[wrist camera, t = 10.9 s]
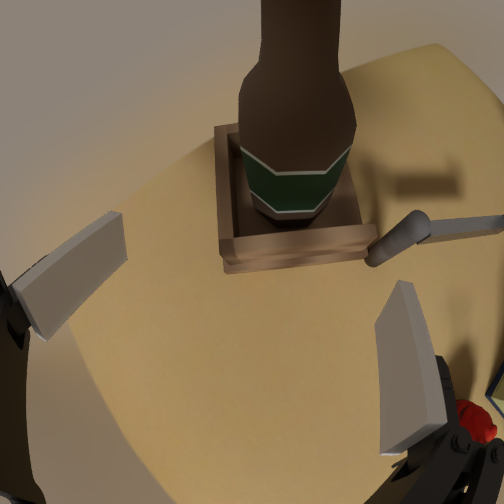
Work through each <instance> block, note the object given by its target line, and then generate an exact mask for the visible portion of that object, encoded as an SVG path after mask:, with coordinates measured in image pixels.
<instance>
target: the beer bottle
mask: <svg viewBox="0 0 504 504" xmlns="http://www.w3.org/2000/svg"><path fill="white" fill-rule="evenodd" d="M340 12H341V0H261V36H262V37H261V39H262V41H261V48H260V55H259V62H258V63H257V64H256V65H255V66H254V68H253V69H252V70H251V71H250V72H249V73H248V75H247V76H246V77H245V78H244V80H243V83H242V86H241V89H240V92H239V119H238V128H239V139H240V148H241V152H242V157H243V161H244V166H245V170H246V175H247V180H248V184H249V189H250V194H251V198H252V203H253V206H254V208H255V210H256V211H257V212H258V213H260V214H261V215H262V216H263V217H264V218H266V219H267V220H268V221H269V222H270V223H271V224H273V225H274V226H275V227H276V228H277V229H278V228H300V227H308V226H309V225H310V224H311V223H312V222H313V221H314V220H315V219H316V218H317V216H318V215H319V214H320V213H321V212H322V211H323V210H324V209H325V208H326V206H327V205H328V203H329V201H330V199H331V197H332V194H333V192H334V190H335V187H336V185H337V182H338V180H339V177H340V175H341V172H342V170H343V167H344V164H345V162H346V159H347V157H348V154H349V151H350V149H351V146H352V143H353V139H354V135H355V131H356V126H357V124H356V119H355V113H354V108H353V104H352V101H351V98H350V95H349V92H348V90H347V87H346V84H345V82H344V79H343V77H342V76H341V74H340V72H339V65H338V46H339V32H340V14H341V13H340Z"/></svg>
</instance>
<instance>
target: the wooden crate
mask: <svg viewBox="0 0 504 504" xmlns="http://www.w3.org/2000/svg"><path fill="white" fill-rule="evenodd" d="M214 135H215V171H216V196H217V218H218V237H219V254H220V255H221V257H222V258H223V266H224V272H225V273H226V274H235V273H245V272H254V271H264V270H273V269H282V268H291V267H300V266H309V265H318V264H326V263H334V262H343V261H351V260H359V259H364V260H365V263H366V264H367V265H368V266H370V267H377V266H378V265H380V264H382V263H384V262H385V261H387V260H389V259H390V258H392V257H394V256H395V255H397V254H399V253H400V252H402V251H404V250H405V249H407V248H409V247H410V246H412V245H414V244H415V243H417V242H418V241H420V240H422V239H423V238H425V237H426V236H428V235H429V233H430V231H431V222H430V220H429V218H428V216H427V215H426V214H425V213H424V212H422V211H420V210H414V211H412V212H411V213H410V214H408V215H407V216H406V217H405V218H404V219H403V220H402V221H401V222H399V223H398V224H397V225H396V226H395V227H394V228H393V229H391V230H390V231H389V232H388V233H387V234H386V235H384V236H383V237H382V238H381V239H380V240H378V241H377V242H376V243H375V244H374V245H373V246H371V247H370V248H369V249H367V246H368V245H370V244H371V243H372V242H373V241H374V240H375V239H376V238H378V234H377V229H376V225H375V223H371V224H362V220H361V215H360V211H359V206H358V202H357V198H356V194H355V190H354V186H353V182H352V179H351V175H350V171H349V168H348V164H347V161H346V162H345V164H344V167H343V170H342V172H341V175H340V177H339V180H338V182H337V185H336V187H335V190H334V192H333V194H332V197H331V199H330V201H329V203H328V205H327V206H326V208H325V209H324V210H323V211H322V212H321V213H320V214H319V215H318V216H317V218H316V219H315V220H314V221H313V222H312V223H311V224H310V225H309V226H308V227H300V228H278V229H277V228H276V227H275V226H274V225H273V224H271V223H270V222H269V221H268V220H267V219H266V218H264V217H263V216H262V215H261V214H260V213H258V212H257V211H256V210H255V208H254V206H253V203H252V198H251V194H250V189H249V184H248V180H247V175H246V170H245V166H244V161H243V157H242V152H241V148H240V139H239V128H238V123H235V124H229V125H221V126H215V127H214Z"/></svg>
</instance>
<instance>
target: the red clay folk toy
mask: <svg viewBox="0 0 504 504" xmlns="http://www.w3.org/2000/svg"><path fill="white" fill-rule="evenodd" d="M456 405H457V411H458V417H459V423H460V426H462V427H464V428H466V429H467V430H468V431H469V432H470V434H471V437H472V440H473V441H476V442H480V443H483V444H487V443H488V442H489V441H491V440H492V439H494V437H495V436H496V434H497V426H496V425H493V422H492V419H491V417H490V415H489V413H488V412H487V411H485V410H484V409H483V408H482V407H480V406H478V405H476V404H474V403H473V402H471V401H468V400H457V401H456Z"/></svg>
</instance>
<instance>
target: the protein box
mask: <svg viewBox="0 0 504 504" xmlns="http://www.w3.org/2000/svg"><path fill="white" fill-rule="evenodd" d="M485 396H486V398H487V399H488V400H489V401H490V402H491V403H492V405H493V406H494V407H495V408H496V410H497V411H498V412H499V413H500V415H501V416H502V417H503V418H504V362H503V364H502V366H501V368H500V369H499V371H498V373H497V375H496V377H495V379H494V381H493V382H492V384H491V386H490V387H489V389H488V391H487V392H486V394H485Z"/></svg>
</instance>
